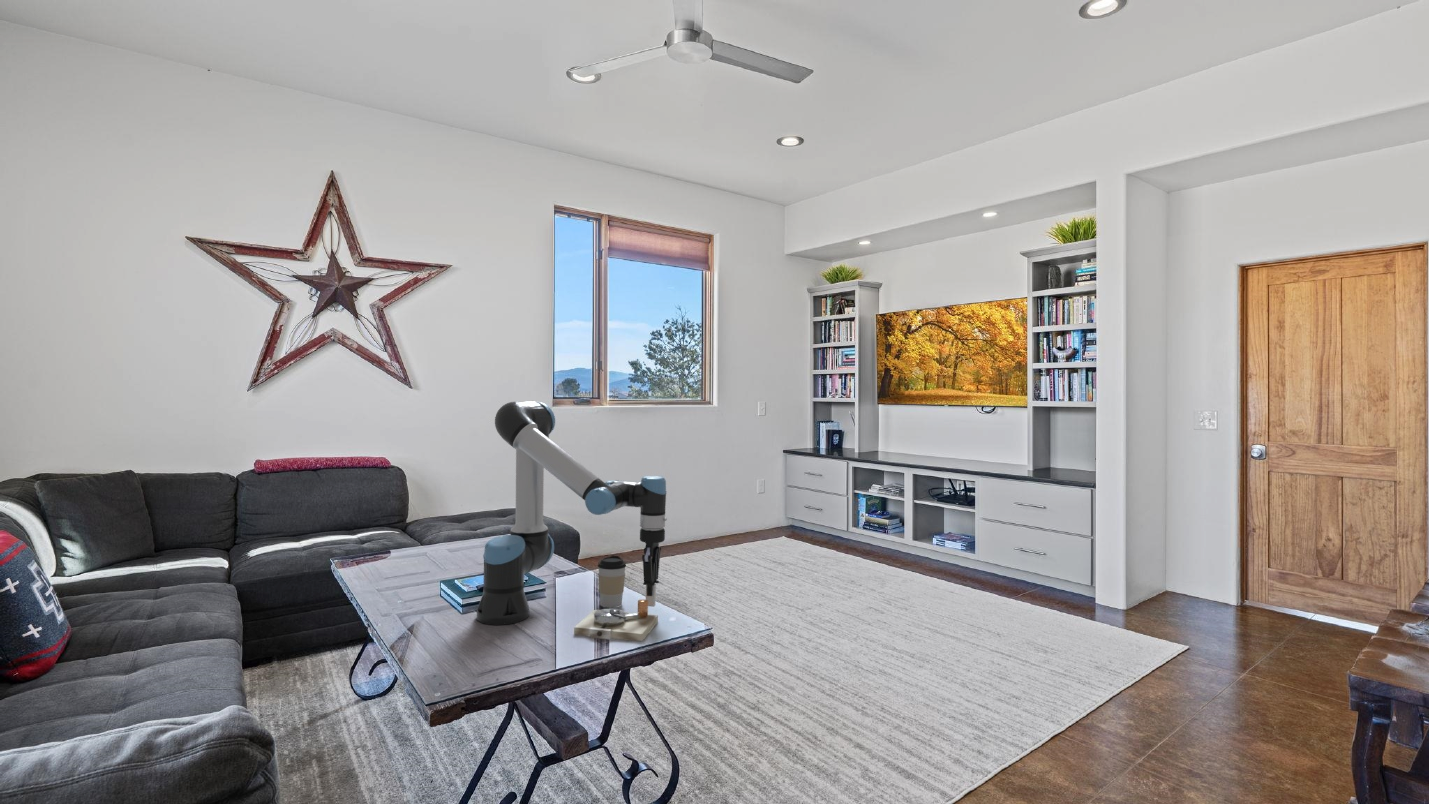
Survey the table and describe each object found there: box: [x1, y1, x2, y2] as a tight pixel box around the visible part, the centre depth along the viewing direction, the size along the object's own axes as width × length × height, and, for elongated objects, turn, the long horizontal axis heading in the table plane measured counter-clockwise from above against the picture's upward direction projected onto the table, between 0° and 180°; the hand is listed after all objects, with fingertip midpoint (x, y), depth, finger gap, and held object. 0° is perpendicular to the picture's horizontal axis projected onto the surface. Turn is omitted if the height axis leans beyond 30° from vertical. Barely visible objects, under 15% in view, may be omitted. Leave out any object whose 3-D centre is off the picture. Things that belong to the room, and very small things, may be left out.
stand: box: [573, 609, 659, 642], centre depth 198 cm, size 20×18×2 cm
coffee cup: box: [597, 555, 627, 609], centre depth 220 cm, size 9×9×15 cm
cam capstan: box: [594, 599, 649, 626], centre depth 199 cm, size 16×10×5 cm, turn 114°
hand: (650, 605), depth 206 cm, fingers closed
